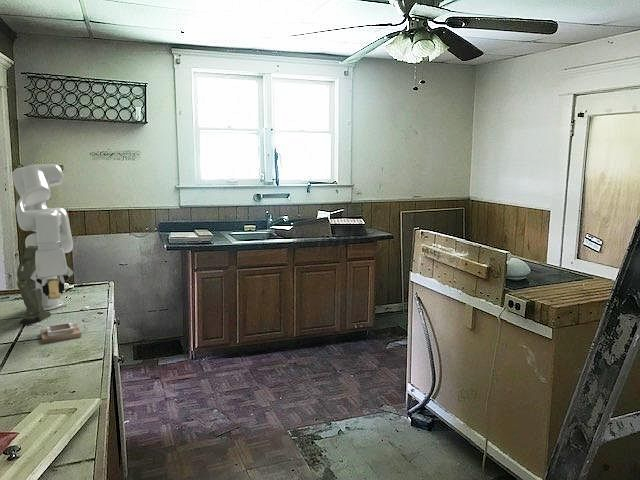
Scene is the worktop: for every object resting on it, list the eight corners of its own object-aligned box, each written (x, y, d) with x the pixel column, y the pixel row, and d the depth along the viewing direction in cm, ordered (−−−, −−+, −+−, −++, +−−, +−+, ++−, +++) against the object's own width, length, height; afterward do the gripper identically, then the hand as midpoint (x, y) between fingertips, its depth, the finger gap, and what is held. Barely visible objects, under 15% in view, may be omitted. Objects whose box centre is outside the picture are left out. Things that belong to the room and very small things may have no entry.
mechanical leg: (25, 325, 190) (31, 245, 192) (8, 324, 192) (15, 244, 194) (51, 322, 204) (57, 247, 206) (36, 321, 205) (41, 246, 207)
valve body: (47, 297, 191) (45, 279, 190) (60, 295, 194) (58, 277, 192) (48, 300, 188) (46, 281, 186) (61, 298, 190) (59, 280, 189)
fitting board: (40, 334, 184) (39, 326, 183) (77, 327, 190) (76, 320, 190) (43, 343, 175) (42, 335, 174) (81, 336, 181) (80, 328, 181)
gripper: (73, 242, 194) (77, 288, 198) (22, 246, 186) (27, 294, 189) (76, 245, 188) (80, 293, 192) (23, 250, 179) (28, 300, 183)
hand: (54, 293), depth 190 cm, fingers closed on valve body, 4 cm apart
